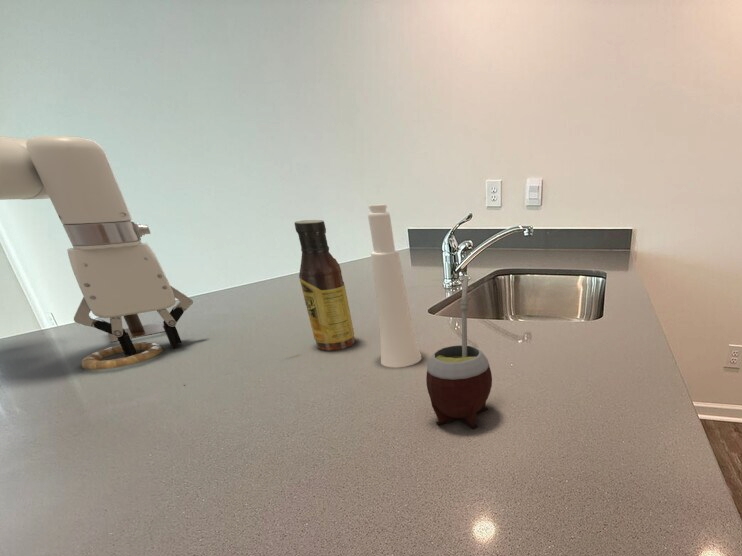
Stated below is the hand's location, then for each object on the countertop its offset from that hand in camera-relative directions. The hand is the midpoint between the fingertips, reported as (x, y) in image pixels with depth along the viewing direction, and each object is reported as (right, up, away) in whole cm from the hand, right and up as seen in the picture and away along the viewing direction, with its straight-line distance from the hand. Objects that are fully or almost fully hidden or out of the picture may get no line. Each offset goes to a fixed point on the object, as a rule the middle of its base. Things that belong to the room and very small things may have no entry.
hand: (155, 351), depth 67 cm
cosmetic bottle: (+42, -2, -5) cm, 42 cm away
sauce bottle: (+29, +1, +2) cm, 29 cm away
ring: (-3, -1, -3) cm, 4 cm away
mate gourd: (+53, -9, -20) cm, 57 cm away
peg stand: (-11, +4, +9) cm, 15 cm away
